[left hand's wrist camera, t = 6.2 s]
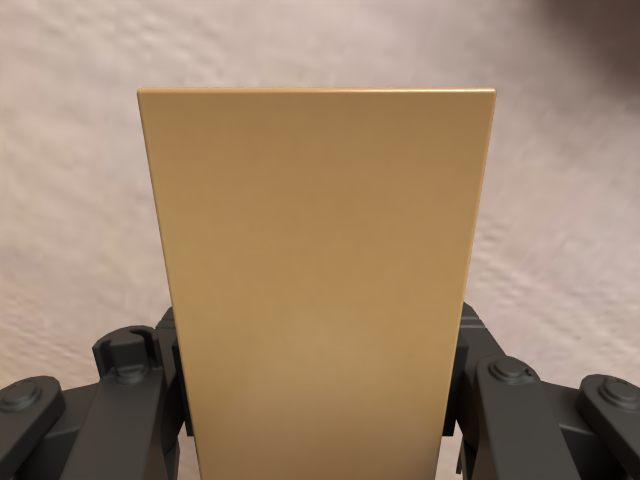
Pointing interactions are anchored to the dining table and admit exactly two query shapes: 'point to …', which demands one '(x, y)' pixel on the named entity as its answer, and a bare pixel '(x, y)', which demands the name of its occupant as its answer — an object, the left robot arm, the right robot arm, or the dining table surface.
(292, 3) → the dining table surface
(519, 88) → the dining table surface
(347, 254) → the bar
